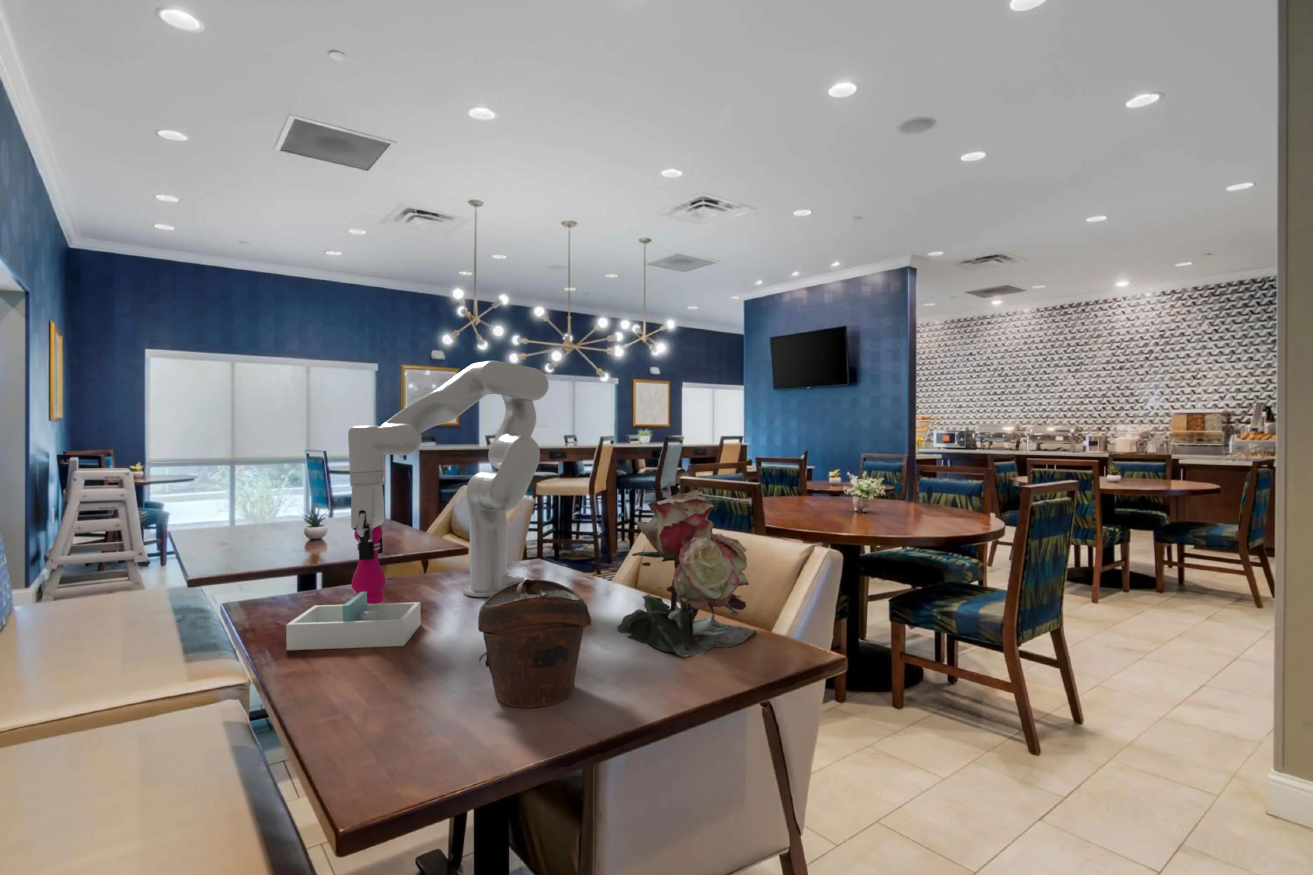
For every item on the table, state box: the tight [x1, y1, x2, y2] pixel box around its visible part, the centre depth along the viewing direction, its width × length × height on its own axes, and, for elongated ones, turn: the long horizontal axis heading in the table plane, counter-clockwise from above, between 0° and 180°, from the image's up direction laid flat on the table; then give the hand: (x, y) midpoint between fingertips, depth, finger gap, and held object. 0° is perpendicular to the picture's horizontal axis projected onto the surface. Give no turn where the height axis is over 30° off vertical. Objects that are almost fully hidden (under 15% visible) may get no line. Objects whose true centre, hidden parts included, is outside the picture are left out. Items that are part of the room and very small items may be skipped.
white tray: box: [285, 601, 421, 651], centre depth 137 cm, size 22×14×5 cm, turn 97°
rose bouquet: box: [605, 489, 757, 659], centre depth 139 cm, size 26×29×30 cm
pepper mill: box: [351, 525, 386, 604], centre depth 154 cm, size 7×7×20 cm
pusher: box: [342, 592, 378, 621], centre depth 138 cm, size 5×11×7 cm, turn 7°
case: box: [477, 578, 592, 709], centre depth 109 cm, size 18×20×18 cm
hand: (371, 555), depth 154 cm, fingers closed on pepper mill, 5 cm apart
